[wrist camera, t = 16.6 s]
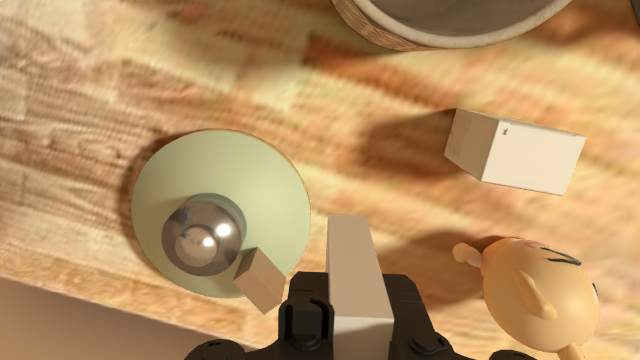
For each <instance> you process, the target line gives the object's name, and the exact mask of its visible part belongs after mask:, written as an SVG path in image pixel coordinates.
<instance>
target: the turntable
mask: <svg viewBox="0 0 640 360" xmlns="http://www.w3.org/2000/svg"><path fill="white" fill-rule="evenodd" d="M200 193H216V194H220V195H223V196H225V197H227V198H229V199H231V200H232V201H233V202H234V203H236V204H237V205H238V207H239V208H240V209H241V211H242V212H243V214H244V216H245V219H246V223H247V233H246V237H245V240H244V242H243V244H242V247H241V249H240V251H239V253H238V255H237V257H236V259H235V261H234V262H233V264H232V265H231V266H230V267H229V268H228V269H226V270H225V271H223V272H222V273H219V274H217V275H213V276H207V277H201V276H194V275H191V274H188V273H186V272H183V271H182V270H180V269H178V268H177V267H176V266H175V265H174V264H173V263H172V262H171V261H170V260H169V259H168V257H167V256H166V254H165V252H164V250H163V247H162V242H161V234H162V229H163V226H164V224H165V222H166V220H167V219H168V218H169V216H170V215H171V214H172V213H173V212H174V211H176V210H177V209H178V208H179V207H180V206H181V205H182V204H183V203H184V202H185V201H186V200H187V199H189V198H190V197H192V196H194V195H197V194H200ZM131 216H132V223H133V228H134V232H135V234H136V237H137V240H138V242H139V244H140V246H141V248H142V250H143V252H144V253H145V255H146V256H147V257H148V259H149V260H150V262H151V263H152V264H153V265H154V266H155V267H156V268H157V269H158V270H159V271H160V272H161V273H162V274H163V275H164V276H166V277H167V278H168V279H170V280H171V281H173V282H174V283H176V284H177V285H179V286H181V287H183V288H185V289H187V290H189V291H192V292H194V293H198V294H201V295H205V296H209V297H215V298H240V297H245V296H246V297H247V298H248V299H249V300H250V301H251V302H252V303H253V304H254V305H255V306H256V307H257V308H258V309H259V310H260V311H261V312H262V313H263V314H266V313H267V312H269V311H270V310H271V309H273V308H274V307H276V306H277V305H279V304H280V303H281V301H282V296H283V291H284V285H285V280H286V276H287V275H288V274H289V273H290V272H291V271H292V270H293V269H294V267H295V266H296V264H297V263H298V262H299V260H300V258H301V256H302V254H303V252H304V250H305V247H306V244H307V241H308V236H309V231H310V219H311V210H310V201H309V197H308V193H307V190H306V187H305V185H304V182H303V180H302V178H301V176H300V175H299V173H298V171H297V170H296V168H295V167H294V166H293V164H292V163H291V162H290V161H289V160H288V159H287V158H286V156H285V155H284V154H283V153H281V152H280V151H279V150H278V149H276V148H275V147H274V146H272V145H271V144H269V143H268V142H266V141H264V140H262V139H260V138H258V137H256V136H254V135H251V134H248V133H245V132H242V131H237V130H231V129H206V130H201V131H196V132H193V133H190V134H187V135H184V136H182V137H180V138H178V139H176V140H174V141H172V142H171V143H169V144H167V145H165V146H164V147H163V148H161V149H160V150H159V151H157V152H156V153H155V154H154V155H153V156H152V157H151V158H150V159H149V160H148V162H147V163H146V164H145V166H144V167H143V168H142V170H141V172H140V174H139V176H138V178H137V180H136V183H135V186H134V189H133V194H132V199H131Z"/></svg>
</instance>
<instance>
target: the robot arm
mask: <svg viewBox="0 0 640 360" xmlns="http://www.w3.org/2000/svg"><path fill="white" fill-rule="evenodd" d="M184 360H475V359H471V358H468V357H465V356H462V355H459V354H457V353H456V352H454V350H453V348H452V346H451V344H450V343H449V342H448V340H447V339H446V338H445V337H443V336H442V335H441V334H439V333H437V332H435V330H434V328H433V325H432V323H431V321H430V318H429V316H428V313H427V311H426V309H425V306H424V304H423V301H422V299H421V297H420V295H419V292H418V290H417V287H416V285H415V283H414V282H413V281H412V280H410V279H409V278H408V277H407V276H406V275H400V274H382V273H381V269H380V266H379V262H378V259H377V255H376V251H375V248H374V244H373V240H372V237H371V233H370V230H369V226H368V222H367V219H366V215H345V214H328V230H327V250H326V269H325V272H302V271H298V272H297V273H296V274H295V275H294V276H293V277H292V279H291V280H290V286H289V293H288V299H287V300H286V301H284V302H283V303H282V304H281V306H280V308H279V315H278V339H277V340H276V341H275V342H274V343H272V344H271V345H269V346H267V347H265V348H262V349H259V350H255V351H251V352H245V351H244V349H243V348H242V347H241V346H240V345H239V344H238V343H236V342H234V341H231V340H224V339H217V340H212V341H207V342H205V343H203V344H201V345H199V346H197V347H196V348H195V349H194V350H192V351H191V352H190V353H189V354H188V356H187V357H186V358H185V359H184ZM489 360H537V359H535V358H533V357H531V356H529V355H527V354H525V353H522V352H518V351H514V350H499V351H496V352H494V353H493V354H492V355H491V356H490V358H489Z"/></svg>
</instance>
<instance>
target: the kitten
mask: <svg viewBox="0 0 640 360" xmlns="http://www.w3.org/2000/svg"><path fill="white" fill-rule="evenodd" d="M453 256H454V258H455V259H456V260H457V261H458V262H465V261H467V262H468V263H469V264H471V265H473V266H475V267H480V271H481V274H482V276H483V278H484V281H483V294H484V299H485V302H486V305H487V308H488V310H489V312H490V313H491V315H492V317H493V318H494V320H495V321H496V322H497V323H498V325H499V326H500V327H501V328H502V329H503V330H504V331H505V332H506V333H507V334H509V335H510V336H511V337H512V338H514V339H515V340H517V341H518V342H520V343H522V344H524V345H526V346H528V347H530V348H532V349H535V350H539V351H543V352H550V353H557V354H558V356H559V358H560V360H585V358H584V356H583V354H582V352H581V350H580V348H579V347H580V346H581V345H583V344H584V343H585V342H586V341H588V340H589V338H590V337H591V336H592V335H593V333H594V331H595V329H596V327H597V324H598V321H599V313H600V310H599V300H598V295H597V291H596V288H595V285H594V284H593V283H591V281H590V279H589V278H588V276H587V275H586V274H585V272H584V271H583V270H582V269H581V267H580V265H581V262H579V261H578V260H576V259H575V258H573V257H570V256H568V255H566V254H564V253H562V252H560V251H558V250H556V249H554V248H552V247H550V246H548V245H545V244H542V243H539V242H535V241H529V240H525V239H523V238H520V239H516V238H504V239H501V240H499V241H497V242H495V243H493V244H491V245H489V246H488V247H487V248H485V250H484V251H483V252H482V254H480V253H479V252H478V251H477V250H476V249H475V248H473V247H470V246H469V245H467V244H465V243H459V244H457V245H456V246H455V247H454V249H453Z"/></svg>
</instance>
